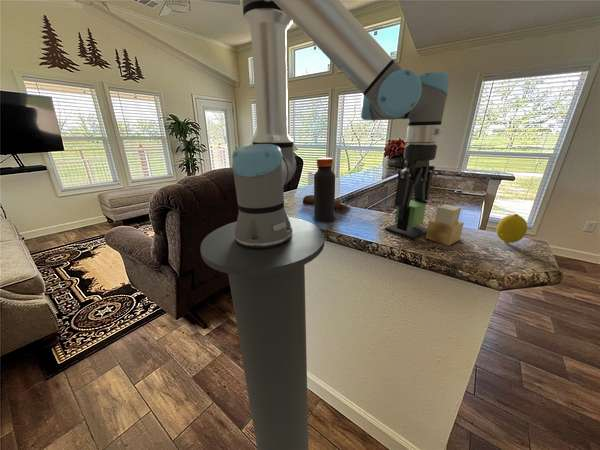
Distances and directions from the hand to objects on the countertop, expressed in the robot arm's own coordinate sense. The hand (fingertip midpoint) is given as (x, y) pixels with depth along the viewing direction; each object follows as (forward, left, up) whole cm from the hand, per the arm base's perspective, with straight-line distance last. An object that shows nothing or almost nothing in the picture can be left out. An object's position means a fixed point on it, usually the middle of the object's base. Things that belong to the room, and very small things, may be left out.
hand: (408, 226), depth 69 cm
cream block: (+9, +2, +4) cm, 10 cm away
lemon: (+20, +12, -1) cm, 23 cm away
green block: (0, 0, +1) cm, 1 cm away
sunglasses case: (-33, -4, -1) cm, 33 cm away
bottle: (-23, -13, -1) cm, 26 cm away
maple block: (+9, +2, -1) cm, 9 cm away
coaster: (0, 0, -1) cm, 1 cm away
